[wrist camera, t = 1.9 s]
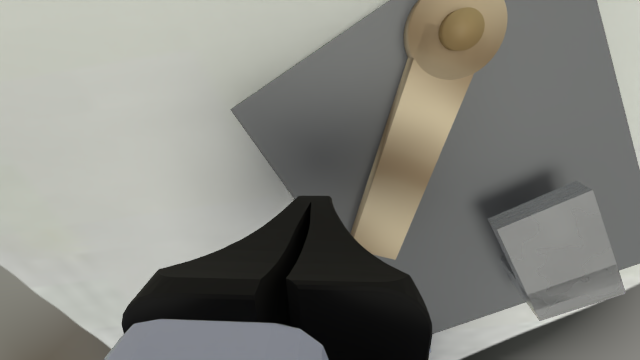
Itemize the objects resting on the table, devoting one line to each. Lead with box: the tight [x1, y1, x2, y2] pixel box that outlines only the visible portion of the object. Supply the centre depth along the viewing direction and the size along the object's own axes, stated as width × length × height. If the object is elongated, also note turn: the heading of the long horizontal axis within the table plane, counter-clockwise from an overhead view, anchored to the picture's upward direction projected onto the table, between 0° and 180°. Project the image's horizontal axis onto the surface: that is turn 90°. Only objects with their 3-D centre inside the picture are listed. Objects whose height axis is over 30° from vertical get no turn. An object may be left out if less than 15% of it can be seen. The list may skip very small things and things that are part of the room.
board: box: [231, 0, 640, 334], centre depth 20 cm, size 20×24×1 cm
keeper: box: [488, 181, 626, 321], centre depth 19 cm, size 8×5×4 cm, turn 32°
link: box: [350, 0, 507, 260], centre depth 17 cm, size 16×5×2 cm, turn 167°
